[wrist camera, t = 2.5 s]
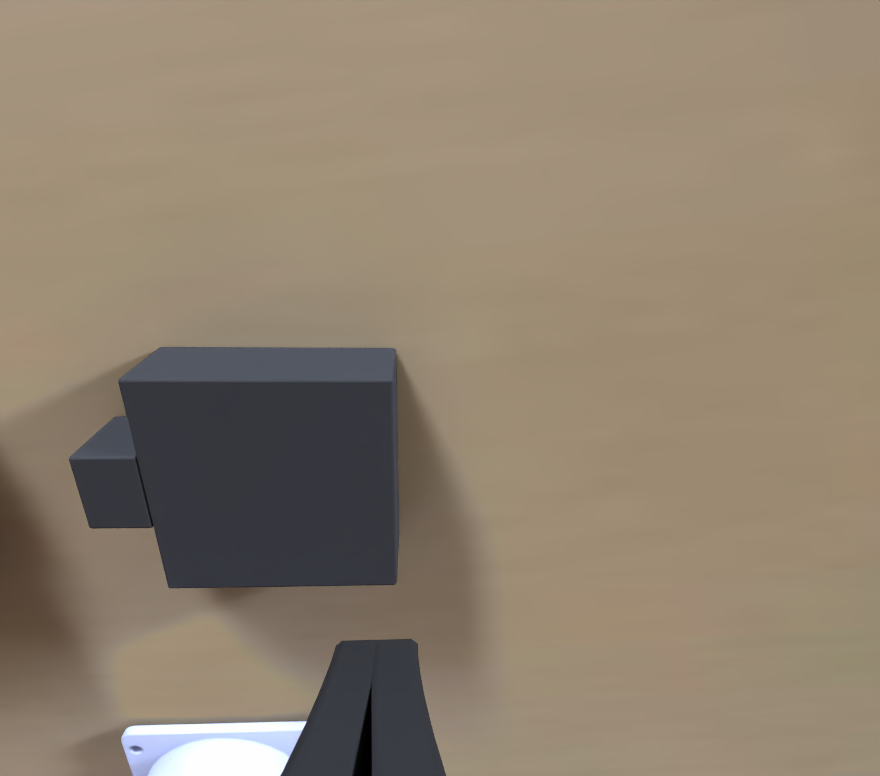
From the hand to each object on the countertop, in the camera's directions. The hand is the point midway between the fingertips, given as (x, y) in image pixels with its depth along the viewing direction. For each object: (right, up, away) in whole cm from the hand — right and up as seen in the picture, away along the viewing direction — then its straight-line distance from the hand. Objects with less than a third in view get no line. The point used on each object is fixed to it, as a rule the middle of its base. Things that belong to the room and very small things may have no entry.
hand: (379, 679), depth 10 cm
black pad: (-4, +3, +8) cm, 9 cm away
